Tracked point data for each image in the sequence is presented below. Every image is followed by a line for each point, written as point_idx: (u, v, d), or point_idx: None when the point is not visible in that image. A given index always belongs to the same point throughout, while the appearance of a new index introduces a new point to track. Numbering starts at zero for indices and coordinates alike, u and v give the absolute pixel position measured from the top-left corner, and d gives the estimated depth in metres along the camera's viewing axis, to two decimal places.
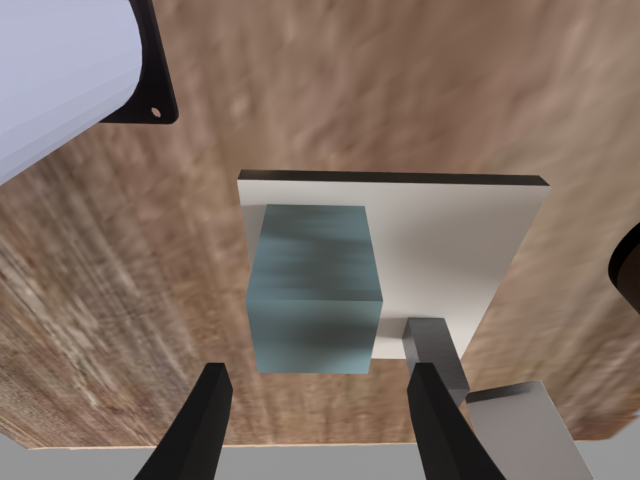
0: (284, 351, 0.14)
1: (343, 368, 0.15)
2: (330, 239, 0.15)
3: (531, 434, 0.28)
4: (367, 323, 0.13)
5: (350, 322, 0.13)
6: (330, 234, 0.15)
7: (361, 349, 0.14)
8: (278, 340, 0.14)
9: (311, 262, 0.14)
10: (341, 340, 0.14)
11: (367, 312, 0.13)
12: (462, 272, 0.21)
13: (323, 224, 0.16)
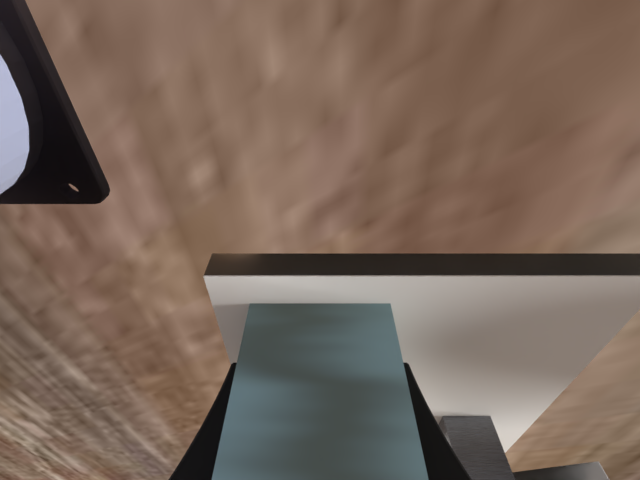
0: None
1: None
2: (343, 378, 0.10)
3: None
4: None
5: None
6: (342, 368, 0.10)
7: None
8: None
9: (314, 436, 0.09)
10: None
11: None
12: (522, 372, 0.15)
13: (331, 344, 0.11)
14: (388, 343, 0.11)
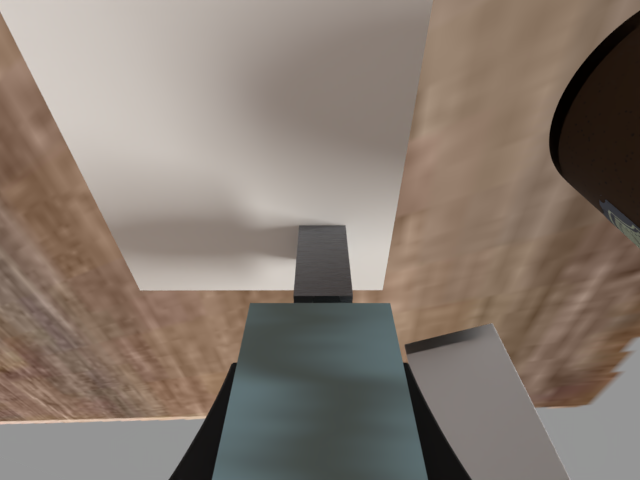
0: None
1: None
2: (343, 378, 0.10)
3: (476, 384, 0.23)
4: None
5: None
6: (342, 367, 0.10)
7: None
8: None
9: (314, 435, 0.09)
10: None
11: None
12: (350, 148, 0.16)
13: (331, 344, 0.11)
14: (388, 342, 0.11)
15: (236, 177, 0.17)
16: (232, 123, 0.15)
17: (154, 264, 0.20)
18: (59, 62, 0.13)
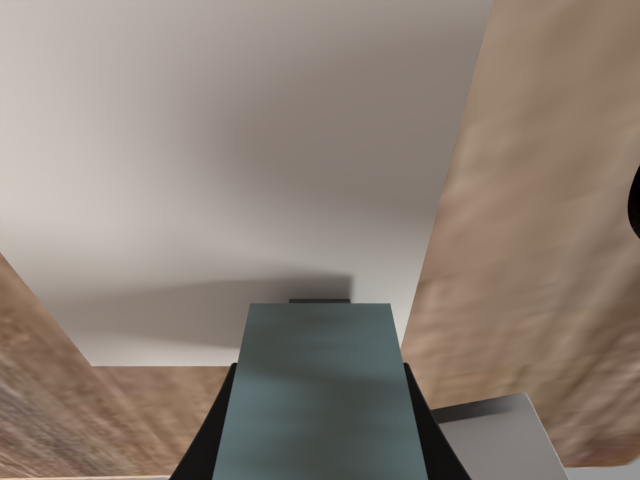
0: None
1: None
2: (343, 378, 0.10)
3: (510, 478, 0.18)
4: None
5: None
6: (342, 367, 0.10)
7: None
8: None
9: (314, 435, 0.09)
10: None
11: None
12: (357, 209, 0.11)
13: (331, 344, 0.11)
14: (388, 343, 0.11)
15: (202, 244, 0.12)
16: (191, 179, 0.10)
17: (105, 340, 0.16)
18: None
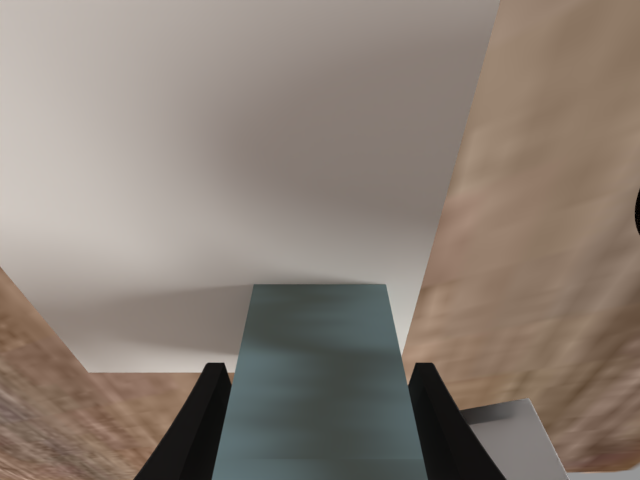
0: None
1: None
2: (341, 350, 0.11)
3: None
4: None
5: None
6: (341, 340, 0.11)
7: None
8: None
9: (314, 399, 0.09)
10: None
11: None
12: (358, 215, 0.11)
13: (330, 320, 0.12)
14: (383, 319, 0.12)
15: (200, 251, 0.12)
16: (188, 184, 0.10)
17: (102, 346, 0.16)
18: None
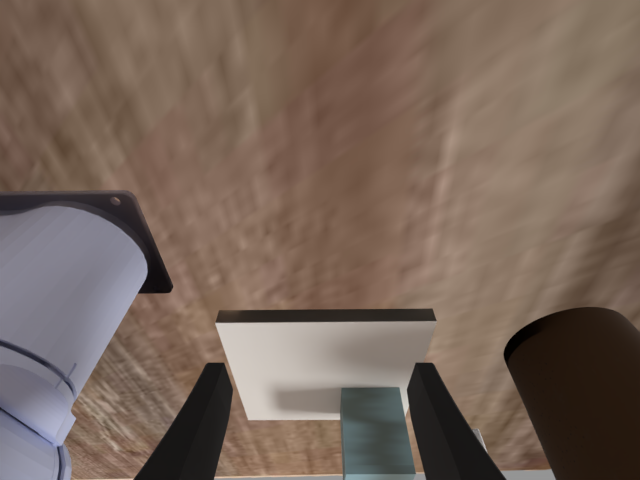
0: None
1: None
2: (383, 421, 0.27)
3: None
4: None
5: (398, 479, 0.25)
6: (382, 417, 0.28)
7: None
8: None
9: (375, 443, 0.26)
10: None
11: (407, 477, 0.25)
12: (389, 368, 0.28)
13: (377, 407, 0.28)
14: (399, 406, 0.28)
15: (322, 377, 0.29)
16: (324, 360, 0.27)
17: (261, 409, 0.32)
18: (239, 343, 0.25)
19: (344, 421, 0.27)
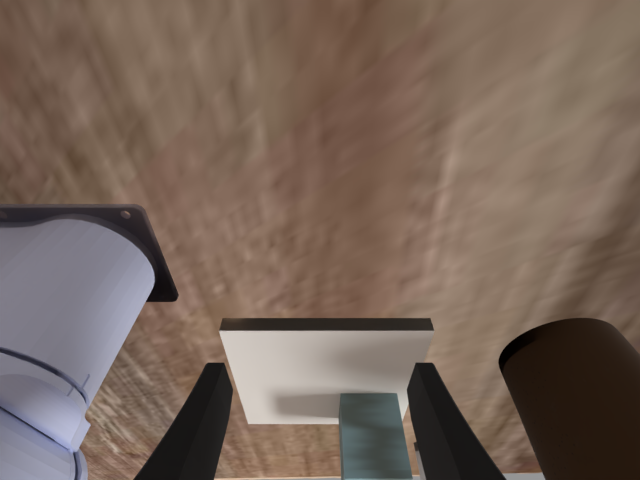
0: None
1: None
2: (380, 427, 0.28)
3: None
4: None
5: None
6: (380, 422, 0.28)
7: None
8: None
9: (373, 448, 0.27)
10: None
11: None
12: (387, 374, 0.28)
13: (375, 413, 0.29)
14: (396, 412, 0.29)
15: (321, 383, 0.29)
16: (325, 367, 0.27)
17: (261, 414, 0.33)
18: (242, 350, 0.26)
19: (343, 426, 0.28)
